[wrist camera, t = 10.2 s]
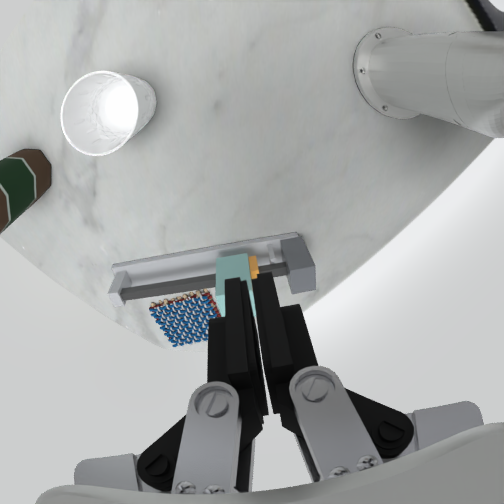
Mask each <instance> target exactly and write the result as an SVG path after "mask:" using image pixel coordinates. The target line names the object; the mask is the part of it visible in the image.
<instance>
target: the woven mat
mask: <svg viewBox="0 0 504 504" xmlns="http://www.w3.org/2000/svg"><path fill="white" fill-rule="evenodd" d="M203 290H204V292H205V293H200V291H196V294H195V295H194V293H193V292H189V293H190V295H191V297H188V295H185V294H184V295H183V296H182V297H183V298H184V299H182V298H181V297H177V299H178V300H177V299H175V300H176V301H175V300H174V298H172V299H171V301H167V299H166V300H164V303H162V301H161V300H159V303H160V305H156V304H155V303H151V306H152V307H150V308H149V310H150V312H151V311H152V312H155V313H153V314H151V316H154V318H156V319H157V320H156V321H155V322H156V323H158V324H159V325H163V326H162V327H160V329H163V331H165V332H167V333H165V334H164V335H165V336H166V335H167V337H169V339H168V340H169V341H171V343H176V344H175V345H173V347H176V346H184V345H187V344H186V343H188V344H191V345H192V343H196V342H198V343H199V342H200V341H206V342H207V340H208V324H209V319H211V318H218V317H221V315H220V314H219V311H217V307H215V304H216V303H215V302H214V301H213V300H212V299H211V298H212V296H211V295H210V293H209V292H208V290H207V289H203ZM200 305H201V306H200ZM205 326H206V327H205ZM198 335H199V336H198ZM170 338H171V339H170ZM198 339H199V340H198Z"/></svg>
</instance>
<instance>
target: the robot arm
mask: <svg viewBox="0 0 504 504" xmlns="http://www.w3.org/2000/svg"><path fill="white" fill-rule="evenodd" d="M375 35H376V37H375ZM360 69H361V73H360ZM354 75H355V79H356V83H357V85H358V87H359V90H360V92H361V93H362V95H363V96H364V98H365V99H366V101H367V102H368V103H369V104H370V105H371V106H372V107H373V108H374V109H376V110H377V111H378V112H380V113H382V114H384V115H386V116H389V117H392V118H396V119H410V118H414V117H416V116H418V115H420V114H424V115H428V116H431V117H434V118H438V119H441V120H444V121H447V122H450V123H453V124H456V125H459V126H461V127H464V128H467V129H470V130H472V131H475V132H478V133H481V134H483V135H486V136H489V137H494V138H504V31H499V32H494V31H488V32H486V31H485V32H484V31H471V32H443V33H430V34H419V35H413V34H411V33H409V32H407V31H405V30H403V29H399V28H395V27H385V28H380V29H377V30H374V31H372V32H370V33H369V34H367V35H366V36H365V37H364V38H363V39H362V40H361V42H360V43H359V45H358V47H357V49H356V52H355V56H354ZM382 106H383V109H382ZM251 281H252V288H253V296H254V303H255V310H256V317H257V324H258V332H259V339H260V346H261V353H262V360H263V366H264V372H265V377H266V381H267V386H268V390H269V395H270V399H271V404H272V409H273V413H274V414H277V413H280V417H281V422H282V426H283V427H284V428H286V429H288V430H289V431H291V432H293V433H294V436H295V438H296V441H297V444H298V446H299V449H300V452H301V454H302V457H303V460H304V462H305V465H306V467H307V470H308V473H309V475H310V477H311V480H312V483H310V484H305V485H299V486H293V487H288V488H282V489H274V490H266V491H257V492H252V479H253V466H254V452H255V437H256V436H257V435H258V434H259V433H260V432H261V431H262V429H263V427H262V424H264V421H263V416H265V415H269V414H268V406H267V399H266V391H265V385H264V377H263V369H262V363H261V355H260V348H259V340H258V334H257V329H256V324H255V319H254V314H253V309H252V304H251V299H250V294H249V290H248V285H247V280H243V281H241V279H240V277H236V278H230V279H225V281H224V283H225V317H218V318H211V319H209V324H208V374H207V376H208V378H207V379H208V380H207V383H206V384H203V385H202V386H200V387H199V388H197V389H196V390H195V391H194V393H193V394H192V396H191V398H190V401H189V405H188V410H187V414H186V415H185V416H184V417H183V418H182V419H181V420H179V421H178V422H177V423H176V424H175V425H174V426H173V427H172V428H170V429H169V430H168V431H167V432H166V433H165V434H164V435H163V436H161V437H160V438H159V439H158V440H157V441H155V442H154V443H153V444H152V445H151V446H149V447H148V448H147V449H146V450H145V451H144V452H143V453H142V454H139V455H134V454H125V455H119V456H111V457H103V458H95V459H86V460H83V461H81V462H80V463H79V464H78V465H77V466H76V468H75V472H74V481H75V485H65V486H59V487H55V488H52V489H50V490H47V491H46V492H44V493H43V494H41V496H40V497H39V498H38V499H37V501H36V503H35V504H504V423H502V422H501V423H491V424H486V425H484V423H483V419H482V415H481V412H480V409H479V408H478V407H477V406H476V405H475V404H474V403H472V402H469V401H463V402H458V403H454V404H448V405H443V406H438V407H433V408H427V409H420V410H415V411H414V412H413V413H408V414H403V413H402V412H399V411H397V410H395V409H392V408H389V407H387V406H385V405H382V404H380V403H377V402H375V401H373V400H371V399H368V398H366V397H364V396H361V395H359V394H357V393H355V392H352V391H350V390H348V389H346V388H344V387H343V385H342V383H341V381H340V379H339V377H338V376H337V375H336V374H335V372H333V371H332V370H330V369H329V368H326V367H323V366H318V363H317V360H316V357H315V353H314V350H313V346H312V343H311V339H310V336H309V333H308V329H307V326H306V323H305V320H304V316H303V313H302V310H301V307H300V305H299V304H296V305H290V306H285V307H280V305H279V300H278V296H277V292H276V287H275V283H274V279H273V275H272V271H271V272H265V273H260V274H257V278H255V279H251Z"/></svg>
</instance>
